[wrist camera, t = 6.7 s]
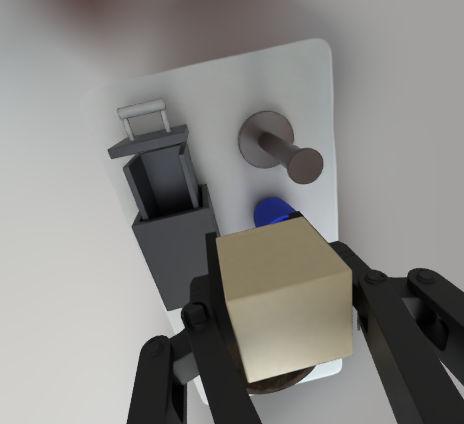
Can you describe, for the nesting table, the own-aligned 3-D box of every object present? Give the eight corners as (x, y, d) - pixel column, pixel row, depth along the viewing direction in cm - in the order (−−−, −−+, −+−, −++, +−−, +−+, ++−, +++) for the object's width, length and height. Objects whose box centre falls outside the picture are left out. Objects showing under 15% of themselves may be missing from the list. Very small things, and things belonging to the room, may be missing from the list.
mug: (260, 253, 53) (273, 286, 44) (243, 200, 48) (254, 225, 39) (299, 240, 53) (320, 270, 44) (286, 186, 48) (308, 207, 39)
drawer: (114, 109, 38) (92, 113, 30) (178, 95, 39) (174, 95, 31) (156, 221, 46) (147, 248, 38) (209, 209, 47) (212, 233, 38)
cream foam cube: (215, 237, 14) (225, 302, 10) (303, 215, 15) (353, 270, 10) (233, 304, 16) (248, 384, 12) (309, 285, 17) (353, 356, 12)
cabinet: (145, 198, 45) (131, 226, 35) (206, 183, 46) (209, 207, 36) (172, 270, 52) (167, 311, 42) (225, 257, 52) (232, 295, 42)
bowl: (216, 359, 64) (219, 403, 55) (202, 289, 55) (203, 328, 46) (303, 343, 65) (321, 383, 56) (304, 272, 56) (324, 306, 47)
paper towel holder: (257, 99, 41) (298, 102, 25) (302, 130, 44) (364, 151, 28) (228, 149, 44) (247, 182, 27) (271, 175, 46) (312, 220, 30)
